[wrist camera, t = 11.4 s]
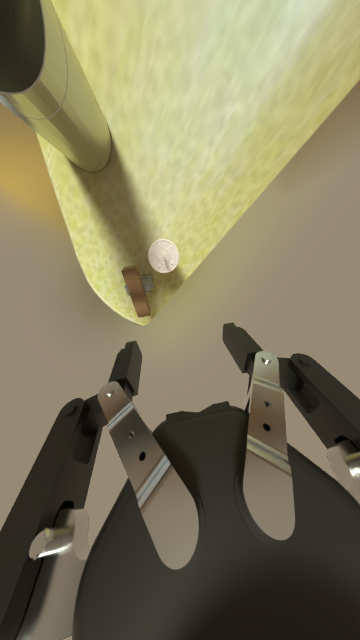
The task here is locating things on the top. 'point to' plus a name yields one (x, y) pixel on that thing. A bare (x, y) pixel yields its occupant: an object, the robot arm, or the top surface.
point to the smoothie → (163, 256)
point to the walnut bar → (136, 290)
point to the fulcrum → (145, 283)
